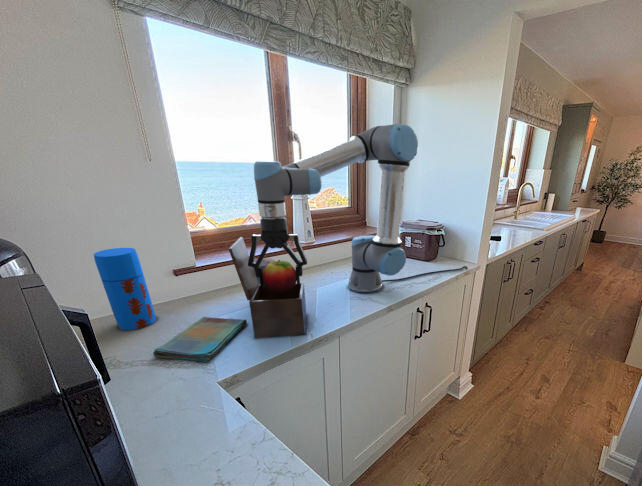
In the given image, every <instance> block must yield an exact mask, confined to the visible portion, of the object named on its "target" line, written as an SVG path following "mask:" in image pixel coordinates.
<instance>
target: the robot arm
mask: <svg viewBox="0 0 642 486" xmlns="http://www.w3.org/2000/svg"><path fill="white" fill-rule="evenodd" d="M418 151H419V140H418V136H417V134H416V133H415V130H414V129H413V128H412V127H411V126H410V125H408V124H403V123H394V124H386V125H377V126H373V127H370V128H369V129H366V130H365V131H362V132H359V133H358V134H356V135H352V136H351V137H350V138H349V140H348V141H345V142H343V143H340V144H337V145H335V146H333V147H330V148H327V149H325V150H322V151H320V152H317V153H315V154H314V153H313V154H311V155H308V156H306V157H304V158H302V159H298V160H295V161H293V162H291V163H289V164H285V165H283V166H282V163H281V162H280V161H273V160H272V161H270V160H269V161H268V160H267V161H265V160H263V161H262V160H260V161H259V160H257V161H255V162H254V163H253V180H254V184H255V190H256V198H257V207H258V214H259V217H261V218H259V222H260V229H261V234H255V233H253V234H252V235H251V236H250V239H251V246H250V251H249V261H248V266H249V267H254V268H255V274H256V277H257V278H260V285H261V288H264V285H265V284H264V282H263V279H262V275H263V268H262V266H260V267H259V265H260V263H261V261H262V259H263V258H265V256H266V254H267V252H268V250H269V248H270V249H283V250H284V251H285V252H286V253H287V254H288V255H289V257H290V258H291V259H292V261H293V262H294V263H295V267H294V269H295V270H296V278H297V281H296V283H297V287H299V286H300V283H301V278H300V277H302V276H303V273H304V272H303V266H306V265H307V264H308V259H307V257H306V254H305V252H304V249H303V247H302V245H301V243H300V238H299V237H300V236H299V234H298V233H294V234H293V233H291V234H290V233H289V231H288V221H287V217H286V216H287V213H286V212H287V211H286V202H285V201H286V200H285V196H287V197H288V196H312V195H318V194H320V192H321V190H322V186H323V185H322V184H323V183H322V178H323V177H324V176H326V175H330V174H332V173H334V172H336V171H338V170H341V169H344V168H346V167H348V166H351V165H352V164H355V163H358V164H363V163H366V162H369V161H377V166H378V167H379V169H380V171H381V174H380V186H379V198H378V199H379V201H378V214H377V225H376V234H375V235H372V234H369V235H359V236H355V237H353V238H352V240H351V260H352V261H351V265H352V266H351V268H352V269H351V274H350V277H349V279H348V289H349V290H351V291H353V292H354V293H361V294H369V293H375V292H378V291H380V290H382V289H383V283H386V282H399V281H404V280H408V279H413V278H417V277H421V276H426V275H432V274H437V273H438V274H439V273H447V272H455V271H456V272H457V271H461V270H464V269H468V267H467V266H465V265H464V266H462V267H459V268H453V269H451V268H450V269H444V270H443V269H442V270H435V271H429V272H423V273H418V274H415V275H411V276H405V277H402V278H395V279H384V280H383V279H382V277H381V274H382V275H385V276H390V277H392V276H395V275H397V274H399V273H400V272H401V271H402V270H403V268H404V267H405V265H406V261H407V254H406V252H405V250H404V249H403V248H402V245H403V244H402V243H403V241H402V240H401V239H400V237H399V235H400V225H401V214H402V206H403V205H402V204H403V194H404V185H405V184H404V183H405V175H406V174H405V173H406V171H408V170H409V169H410V165H411V161H412V160H414V159H415V157H416V156H417V155H418ZM289 239H291V241H292V242H294V246H295V248H296V250H297V253H298V255H299V256H298V255H297V254H296V253H295V251H294V250H293V249H292V247H291V246H290V244H289V243H288V241H289ZM260 240H261V241H262V242H263V243H264V247H263V248H262V251H261V252H260V253H259V255H260V256H259V255H258V258H257V259H258V260H257V262H254V259H255V257H256V251H257V248H258V243H259V242H260ZM299 257H300V258H299Z"/></svg>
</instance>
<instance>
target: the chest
mask: <svg viewBox="0 0 642 486" xmlns="http://www.w3.org/2000/svg"><path fill="white" fill-rule="evenodd" d="M248 303H249V310H250V316H251V322H252V328H253V335H254V339H259V338H260V339H261V338H263V339H264V338H273V337H274V338H275V337H276V338H277V337H291V336H305V335H306V324H307V305H306V293H305V283H304V282H300V286H299V287H297V282H296V284H295V286H294V287H293V288H292V289H291V290H289V291H287V292H283V293H276V292H272V291H271V290H269V289H268V288H267V287H266V286H265V285H264V288H261V285H257V287H256V289H255V291H254V293H253V295H252V297H251V299H250V300H248Z"/></svg>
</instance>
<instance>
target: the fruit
mask: <svg viewBox="0 0 642 486" xmlns="http://www.w3.org/2000/svg"><path fill="white" fill-rule="evenodd" d="M262 279H263V282H264V284H265V286H266V287H267V288H268V289H269V290H271V291H272V292H276V293H283V292H287V291H289V290H291V289H292V288H293V287H294V286H295V284H296V283H297V278H296V268H295V267H294V266H293V264H292V263H291V262H290V261H287V260H281V259H278V260H274V262H271V263H269V264H268V265H267V266H266V267H265V269H264V271H263V275H262Z"/></svg>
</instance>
